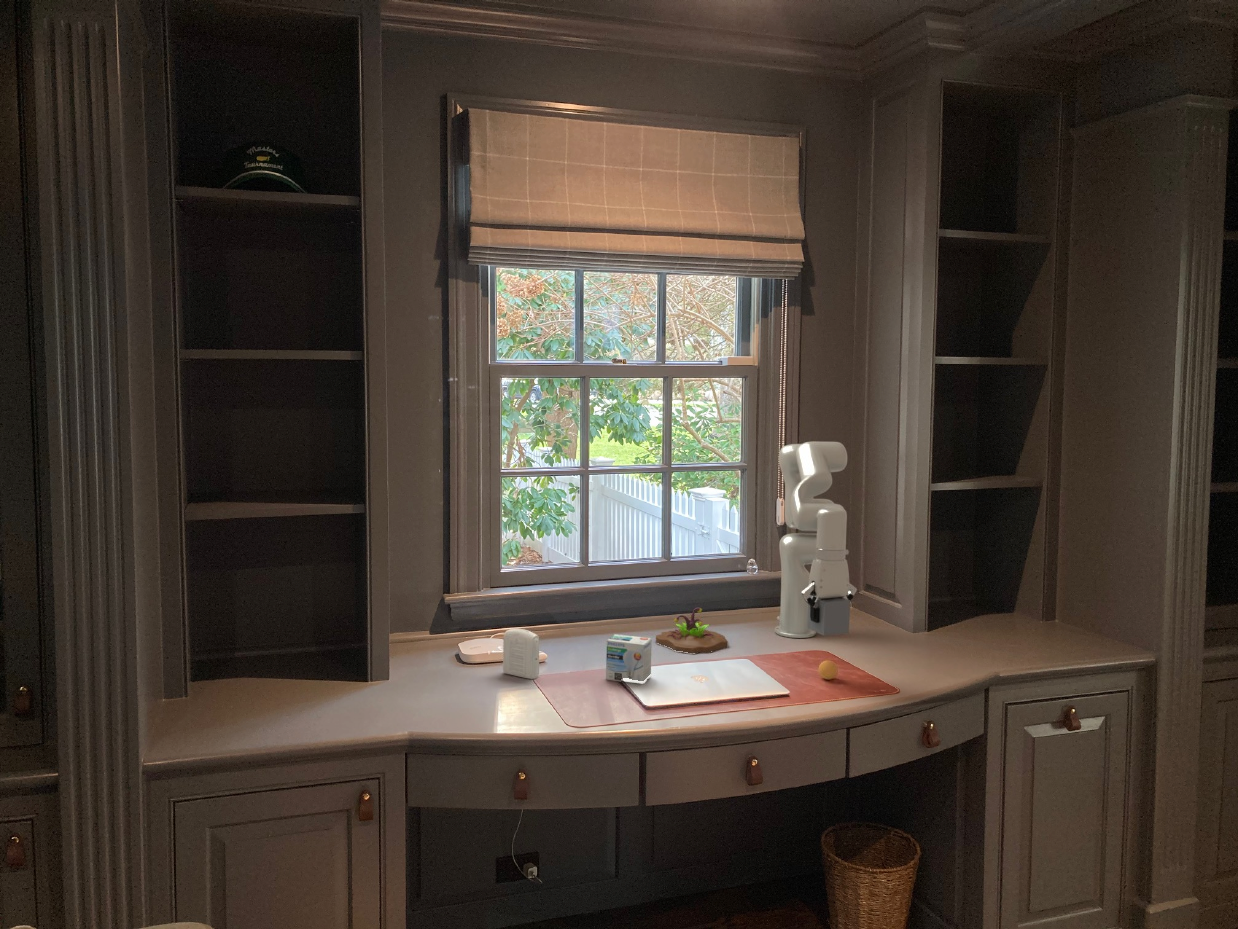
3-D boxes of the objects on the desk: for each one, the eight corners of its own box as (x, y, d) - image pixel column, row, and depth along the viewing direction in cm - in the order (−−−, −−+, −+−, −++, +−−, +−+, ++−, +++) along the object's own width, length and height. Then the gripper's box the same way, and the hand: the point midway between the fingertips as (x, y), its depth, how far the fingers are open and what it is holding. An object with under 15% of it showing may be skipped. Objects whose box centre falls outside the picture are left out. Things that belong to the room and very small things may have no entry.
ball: (825, 682, 240) (815, 679, 244) (842, 680, 241) (831, 677, 246) (824, 662, 240) (814, 660, 245) (841, 660, 242) (830, 658, 246)
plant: (739, 648, 272) (740, 611, 271) (687, 658, 261) (688, 620, 260) (698, 632, 289) (698, 597, 288) (647, 641, 278) (647, 605, 277)
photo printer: (541, 676, 243) (541, 630, 241) (532, 680, 239) (532, 634, 238) (510, 669, 248) (510, 625, 247) (500, 674, 244) (500, 628, 243)
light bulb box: (605, 680, 240) (605, 639, 239) (614, 672, 246) (614, 633, 246) (643, 685, 237) (644, 644, 236) (651, 677, 243) (652, 637, 242)
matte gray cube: (807, 628, 245) (808, 595, 244) (831, 625, 248) (833, 593, 247) (823, 635, 238) (825, 602, 237) (848, 633, 241) (850, 600, 240)
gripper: (850, 550, 247) (847, 614, 249) (794, 554, 241) (792, 619, 243) (867, 555, 240) (864, 621, 242) (810, 559, 234) (808, 626, 236)
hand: (828, 620), depth 242 cm, fingers closed on matte gray cube, 7 cm apart
